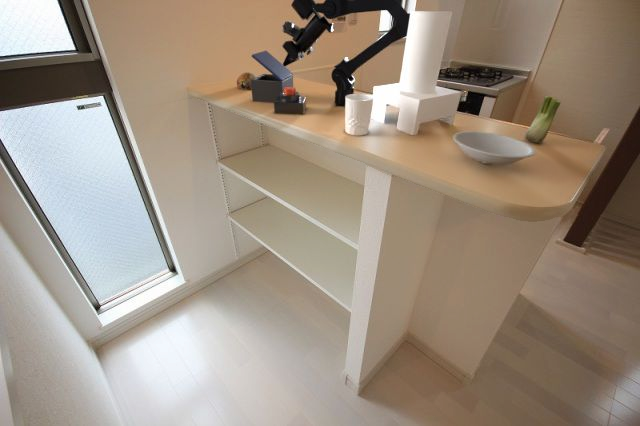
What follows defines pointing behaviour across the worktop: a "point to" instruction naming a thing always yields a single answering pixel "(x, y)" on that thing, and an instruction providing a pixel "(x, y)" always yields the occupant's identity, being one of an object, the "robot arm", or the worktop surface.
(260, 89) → the dark grey housing
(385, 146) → the worktop surface
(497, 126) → the worktop surface
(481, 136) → the dish
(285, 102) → the red push button box
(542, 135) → the fennel bulb
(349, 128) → the white cup
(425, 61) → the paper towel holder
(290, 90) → the button
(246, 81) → the bread roll
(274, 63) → the lid
